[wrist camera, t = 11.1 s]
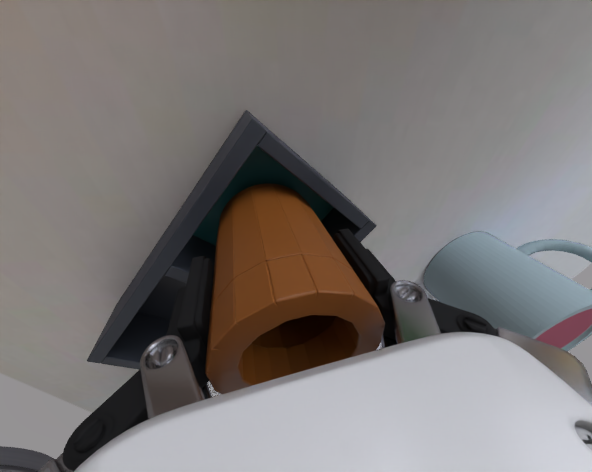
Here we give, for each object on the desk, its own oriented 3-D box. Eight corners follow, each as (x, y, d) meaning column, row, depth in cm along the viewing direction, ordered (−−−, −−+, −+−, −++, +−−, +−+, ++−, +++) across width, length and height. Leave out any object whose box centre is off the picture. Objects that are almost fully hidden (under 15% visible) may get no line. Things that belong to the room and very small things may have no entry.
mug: (430, 303, 30) (505, 383, 22) (416, 262, 25) (507, 346, 17) (528, 248, 29) (647, 311, 21) (535, 191, 24) (698, 246, 15)
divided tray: (116, 304, 19) (86, 361, 15) (246, 109, 14) (252, 118, 10) (221, 333, 24) (219, 382, 20) (346, 196, 19) (377, 225, 15)
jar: (199, 240, 15) (167, 394, 7) (257, 161, 13) (293, 259, 6) (275, 276, 18) (307, 409, 10) (329, 216, 16) (414, 326, 9)
